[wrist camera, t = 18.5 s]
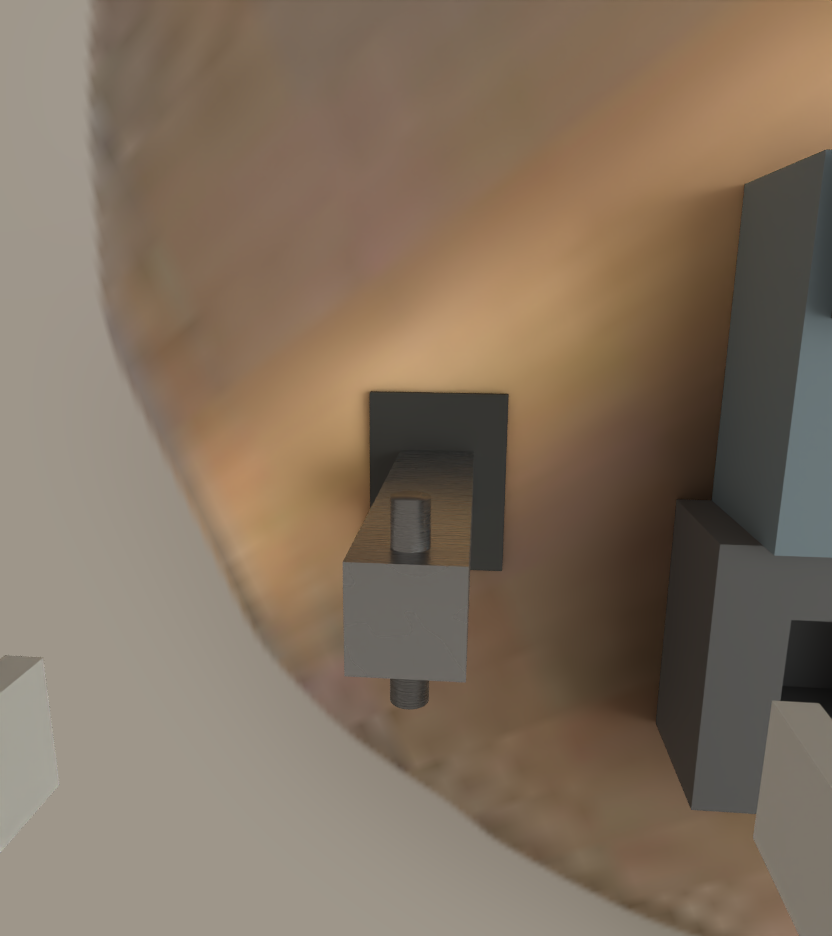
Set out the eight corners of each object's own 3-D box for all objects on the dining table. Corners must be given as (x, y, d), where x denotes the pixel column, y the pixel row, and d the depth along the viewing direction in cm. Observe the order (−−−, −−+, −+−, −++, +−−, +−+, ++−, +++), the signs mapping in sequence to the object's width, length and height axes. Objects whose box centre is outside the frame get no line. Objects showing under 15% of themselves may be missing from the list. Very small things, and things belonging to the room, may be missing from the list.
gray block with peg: (400, 548, 33) (345, 723, 20) (401, 418, 32) (342, 509, 18) (471, 551, 33) (464, 730, 19) (474, 419, 32) (469, 513, 18)
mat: (370, 391, 32) (369, 392, 32) (508, 393, 32) (508, 395, 31) (372, 562, 34) (370, 566, 34) (501, 567, 33) (502, 571, 33)
